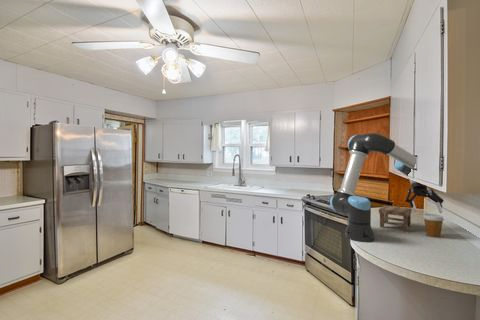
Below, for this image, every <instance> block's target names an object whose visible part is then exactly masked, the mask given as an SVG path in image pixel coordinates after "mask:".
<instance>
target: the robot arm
mask: <svg viewBox="0 0 480 320" xmlns="http://www.w3.org/2000/svg"><path fill="white" fill-rule="evenodd" d="M347 148H348V150H349V151H348V153H349V154H350V156H349V160H348V162H347V166H346V169H345V173H344V175H343V179H342V182H341V185H340V188H339V189H338V190H336V193H335V194H334V195H333V196H332V195H331V197H330V199H329V207H330V208H331V210H332V211H334V212H335V213H337V214H339V215H342V216H347V217H348V219H347V220H348V224H347V226H346V228H345V232H344V233H345V237H346V238H347V239H349V240H352V241H356V242H362V243H364V242H367V243H368V242H373V241H375V233H374V232H373V227H372V223H371V222H372V221H371V220H372V217H371V216H372V212H371V211H372V209H371V208H372V206H371V200H370V199H369V198H367V197H365V196H359V195H356V194H355V192H356V188H357V185H358V182H359V178H360V175H361V171H362V169H363V165H364V162H365V158H366V159H367V158H369V154H370V153H371V152H373V153H379V154H382V155H387V156H388V157H390V158H393V159H394V160H395V162H394V168H395V170H397V172H400V173H402V174H403V175H405V176H406V177H408V174H409V173H410V172H411V169H413V168H414V166H415V164H416V157H417V156H415V155H414V154H412V153H411V152H409V151H407V150H406V149H403V148H402V147H400V146H399V145H397V144H396V142H395V141H394V140H392V139H391V138H389V137H387V136H386V135H383V134H380V133H377V132H370V133H358V134H355V135H353V136H351V137H350V138H349V139H348V142H347ZM408 180H409V182H410V183H409V184H410V186H411V188H412V189H411V188H409V189H408V190H407V196H406V198H405V201H404V202H405V203H408V204H409V207H410V208H412V211H413V213H416V212H417V207H416V204H415V201H414V200H415V199H416V198H417V197H424V198H425V197H426V198H427V199H429V200H432V201H433V202H434V203H436V207H437V209H438V213H439V214H442V213H443V212H444V210H443V203H444V201H445V200H444V199H443V198H442V197H441V196H440V195H438V194H437V193H436V192H435V190H434V189H432V188H431V189H428V188H427V186H426V184H425V185H422V184H420V183H417V182H415V181H412V180H410V179H409V178H408ZM412 193H413V195H412ZM411 195H412V197H411V198H410V196H411Z"/></svg>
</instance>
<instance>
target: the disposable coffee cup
mask: <svg viewBox="0 0 480 320" xmlns="http://www.w3.org/2000/svg"><path fill="white" fill-rule="evenodd" d="M422 218H423V220H424V221H423V222H424V227H425V233H426V236H427V237H430V238H434V239H436V238H437V239H438V238H441V234H442V230H443V229H442V228H443V221H444V220H445V219H444V217H443V215H440V214H436V213H434V214H433V213H425V214H423V216H422Z"/></svg>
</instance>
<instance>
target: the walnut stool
mask: <svg viewBox="0 0 480 320" xmlns="http://www.w3.org/2000/svg"><path fill="white" fill-rule="evenodd" d="M412 211H413V208H412V207H403V206H402V207H401V206H392V205H382V207H380V208H378V214H379V228H385V225H391V226H392V225H393V226H400V227H403V228H402V229H403V232H406V233H408V231H409V228H410V227H411V226H412V225H411V224H412V223H411V222H412V221H411V218H412V216H411V213H412ZM389 215H390V216H391V215H392V216H399V217H403V218H396V217H390V216H389ZM390 220H391V221H390ZM392 221H398V222H392ZM401 222H403V223H401Z"/></svg>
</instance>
